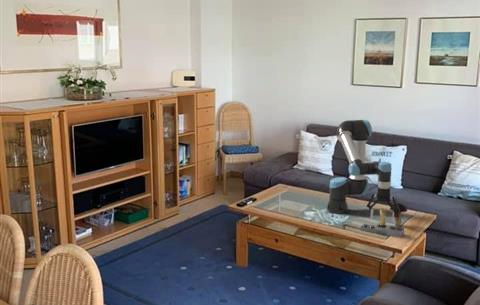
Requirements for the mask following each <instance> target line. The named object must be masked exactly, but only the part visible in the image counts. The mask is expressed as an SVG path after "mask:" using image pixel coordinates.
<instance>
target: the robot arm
mask: <svg viewBox="0 0 480 305" xmlns="http://www.w3.org/2000/svg"><path fill="white" fill-rule="evenodd" d="M336 129H337V130H336V138H337V139H338V141H339V142H340V143H341V145H342V148H343V149H344V153H345V155H346V157H347V160H348V163H349V165H348V173H349V176H348V178H347V177H341V176H339V177H335V178H334V177H333V178H332V179H331V180H330V181H329V200H328V202H327V205H326V211H327V212H328V211H329V213H332V214H337V215H338V214H339V215H340V214H347V213H348V212H349V206H348V203H347V197H354V196H358V197H359V196H365V195H366V194H367V193H368V191H369V185H370V184H369V181H368V178H366V177H367V176H370V175H376V176H377V192H376V193H375V192H373V193H372V195H371V198H370V199H369V201H368V202H367V204H366V208H369V211H368V212H369V214H370V220H372V219H374V207H375V206H376V205H377V204H378V203H379V202H380V203H386V204H387V205H389V208H390V207H391V209H392V210H393V211H392V210H391V211H392V221H391V223H392V224H395V223H394V222H395V218H396V217H397V212H399V211H400V209H399V206H398V204H397V203H398V202H397V200H396V195H393V196H392V195H391V186H392V183H391V181H392V178H391V177H392V164H391V162H388V161H377V160H373V161H372V162H366V144H367V142H368V141H369V138H370V137H371V136H372V135H373V128H372V125H371V123H370V121H369V120H367V119H355V120H354V119H352V120H344V121H342V122H341V123H340V124H339V125H338V126H337V128H336ZM375 198H377V199H376V200H375V201H374V199H375ZM391 200H392V201H391ZM373 201H374V202H373ZM393 205H395V207H394V206H393Z"/></svg>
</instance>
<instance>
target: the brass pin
mask: <svg viewBox="0 0 480 305" xmlns="http://www.w3.org/2000/svg"><path fill="white" fill-rule="evenodd" d="M378 210H379V227H383V228H385V225H386V212H387V208H379V209H378Z"/></svg>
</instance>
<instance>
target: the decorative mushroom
mask: <svg viewBox="0 0 480 305" xmlns="http://www.w3.org/2000/svg"><path fill="white" fill-rule="evenodd" d="M397 204H398V206H399V209H400V211H399V212H397V217H396V218H395V222H394V223H393V224H394V225H395V226H396V227H400V226H401V224H402V214H401V213H405V212H408V208H407V206H406V205H404V204H402V203H400V202H397ZM393 206H394V207H395V205H394V204H393ZM389 210H390V211H392V212H394V211H393V210H392V209H391V207H390V206H389Z"/></svg>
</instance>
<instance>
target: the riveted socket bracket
mask: <svg viewBox="0 0 480 305" xmlns="http://www.w3.org/2000/svg"><path fill="white" fill-rule="evenodd" d="M379 223H380V222H379ZM379 223H377V224H376V225H374V224H367V223H363V224H362V225H361V226H360V231H363V232H368V233H373V234H377V235H378V234H379V235H383V236H391V237H393V238H399V237H400V238H402V237H403V236H404V235H405V227H401V226H397V225H395V226H394V225H389V224H385V228H383V227H379Z"/></svg>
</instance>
